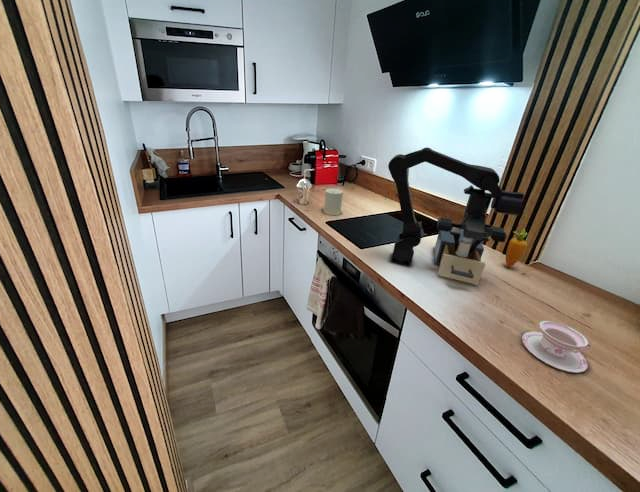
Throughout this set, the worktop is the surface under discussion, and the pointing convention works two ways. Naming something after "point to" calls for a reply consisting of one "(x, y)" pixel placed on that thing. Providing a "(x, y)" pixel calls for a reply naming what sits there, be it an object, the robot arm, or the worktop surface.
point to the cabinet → (449, 239)
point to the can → (333, 201)
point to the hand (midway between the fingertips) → (462, 251)
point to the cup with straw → (304, 189)
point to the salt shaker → (463, 247)
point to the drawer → (460, 265)
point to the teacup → (558, 346)
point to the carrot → (515, 248)
